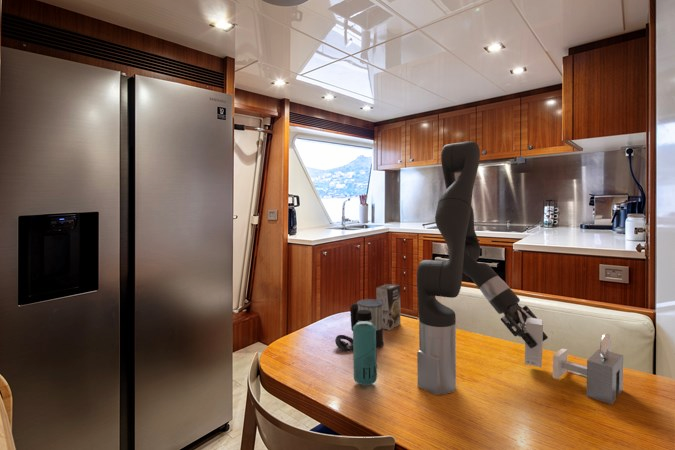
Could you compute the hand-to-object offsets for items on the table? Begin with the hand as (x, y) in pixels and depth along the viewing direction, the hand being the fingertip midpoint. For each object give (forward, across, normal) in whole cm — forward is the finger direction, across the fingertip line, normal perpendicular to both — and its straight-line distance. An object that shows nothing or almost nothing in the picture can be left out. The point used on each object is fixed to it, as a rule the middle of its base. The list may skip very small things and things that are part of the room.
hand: (539, 343), depth 97 cm
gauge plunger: (+13, +2, -2) cm, 13 cm away
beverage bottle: (-13, -42, +26) cm, 51 cm away
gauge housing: (+13, +1, -1) cm, 13 cm away
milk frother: (-27, -25, +40) cm, 54 cm away
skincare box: (+3, 0, +6) cm, 6 cm away
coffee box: (-32, -3, +45) cm, 55 cm away
